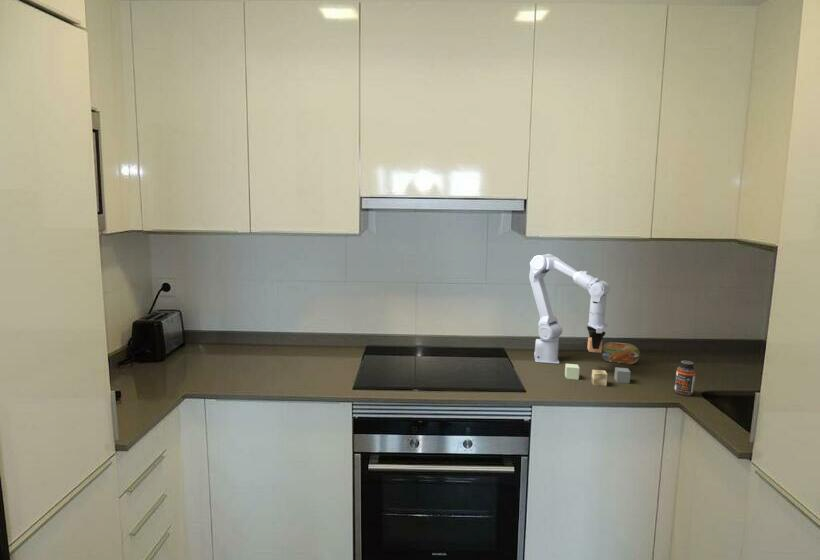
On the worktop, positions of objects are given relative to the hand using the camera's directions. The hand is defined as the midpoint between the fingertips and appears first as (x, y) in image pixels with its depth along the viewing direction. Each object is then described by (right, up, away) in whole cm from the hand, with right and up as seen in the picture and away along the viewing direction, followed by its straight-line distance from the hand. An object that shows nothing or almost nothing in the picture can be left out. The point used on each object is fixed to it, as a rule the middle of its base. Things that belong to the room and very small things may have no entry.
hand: (594, 346), depth 206 cm
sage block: (-11, -11, -6) cm, 16 cm away
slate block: (+7, -12, -9) cm, 16 cm away
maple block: (-3, -12, -12) cm, 17 cm away
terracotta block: (0, -1, 0) cm, 1 cm away
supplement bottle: (+24, -14, -20) cm, 34 cm away
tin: (+15, -9, +14) cm, 22 cm away
